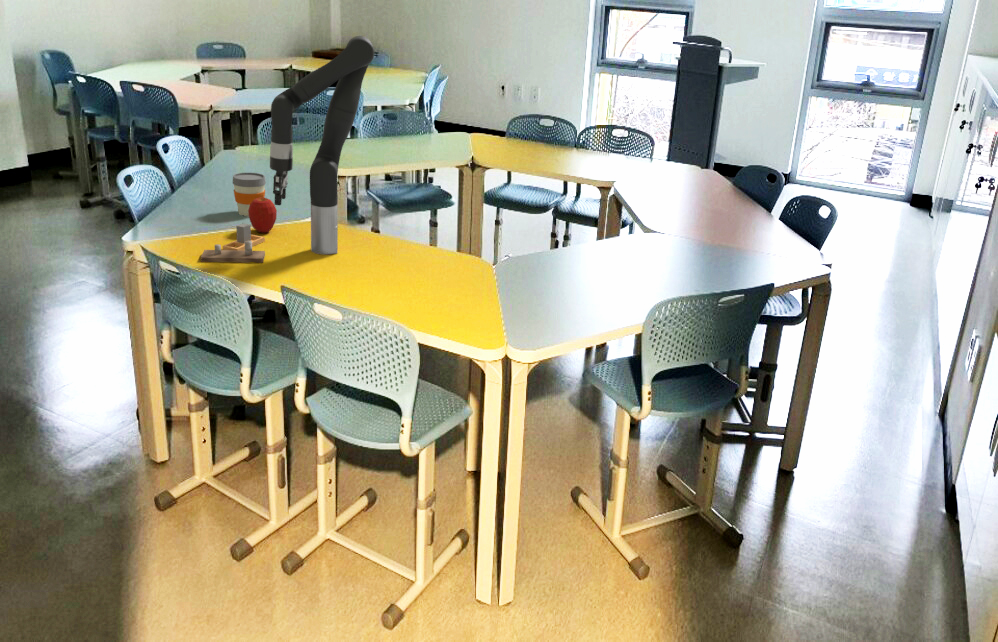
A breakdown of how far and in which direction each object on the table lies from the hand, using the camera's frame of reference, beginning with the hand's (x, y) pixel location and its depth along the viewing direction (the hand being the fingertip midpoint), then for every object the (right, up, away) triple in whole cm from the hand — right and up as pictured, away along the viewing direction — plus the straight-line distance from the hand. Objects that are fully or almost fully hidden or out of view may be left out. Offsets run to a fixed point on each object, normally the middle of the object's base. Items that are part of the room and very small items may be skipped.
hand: (280, 201), depth 294 cm
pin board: (-15, -20, -5) cm, 25 cm away
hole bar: (-15, -14, +8) cm, 22 cm away
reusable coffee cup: (-23, +2, +45) cm, 51 cm away
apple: (-13, -8, +24) cm, 29 cm away
